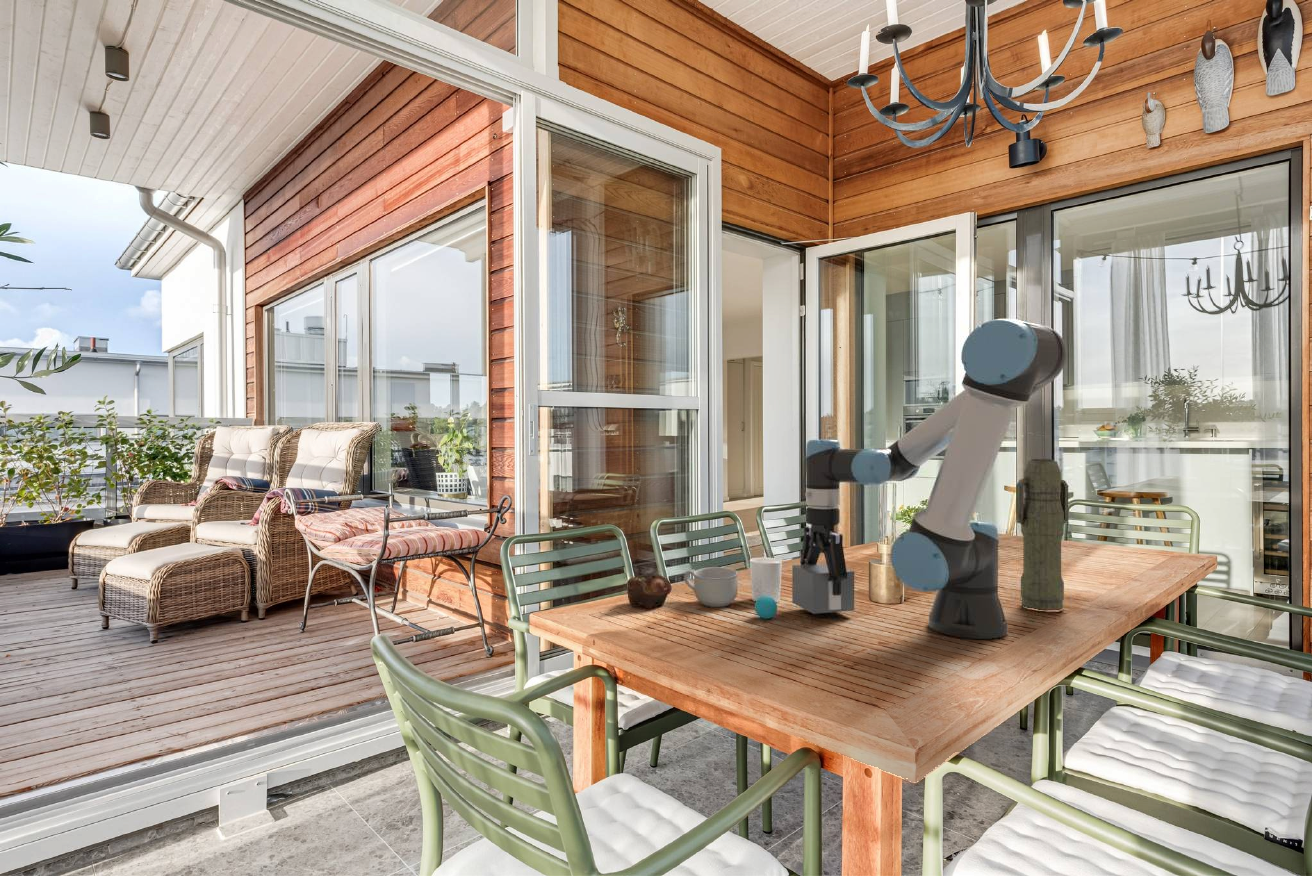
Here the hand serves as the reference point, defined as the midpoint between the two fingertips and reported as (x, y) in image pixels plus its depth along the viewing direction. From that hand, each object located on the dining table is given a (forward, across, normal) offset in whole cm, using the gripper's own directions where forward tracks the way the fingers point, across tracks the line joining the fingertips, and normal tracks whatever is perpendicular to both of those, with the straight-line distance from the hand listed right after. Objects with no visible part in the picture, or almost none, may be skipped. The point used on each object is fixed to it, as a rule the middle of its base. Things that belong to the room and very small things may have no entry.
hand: (822, 603), depth 163 cm
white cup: (+3, -15, -7) cm, 17 cm away
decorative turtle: (+3, -19, -36) cm, 41 cm away
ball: (0, 0, -14) cm, 14 cm away
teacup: (+3, -17, -21) cm, 27 cm away
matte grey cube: (+1, 0, 0) cm, 1 cm away
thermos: (+2, +10, +52) cm, 53 cm away
